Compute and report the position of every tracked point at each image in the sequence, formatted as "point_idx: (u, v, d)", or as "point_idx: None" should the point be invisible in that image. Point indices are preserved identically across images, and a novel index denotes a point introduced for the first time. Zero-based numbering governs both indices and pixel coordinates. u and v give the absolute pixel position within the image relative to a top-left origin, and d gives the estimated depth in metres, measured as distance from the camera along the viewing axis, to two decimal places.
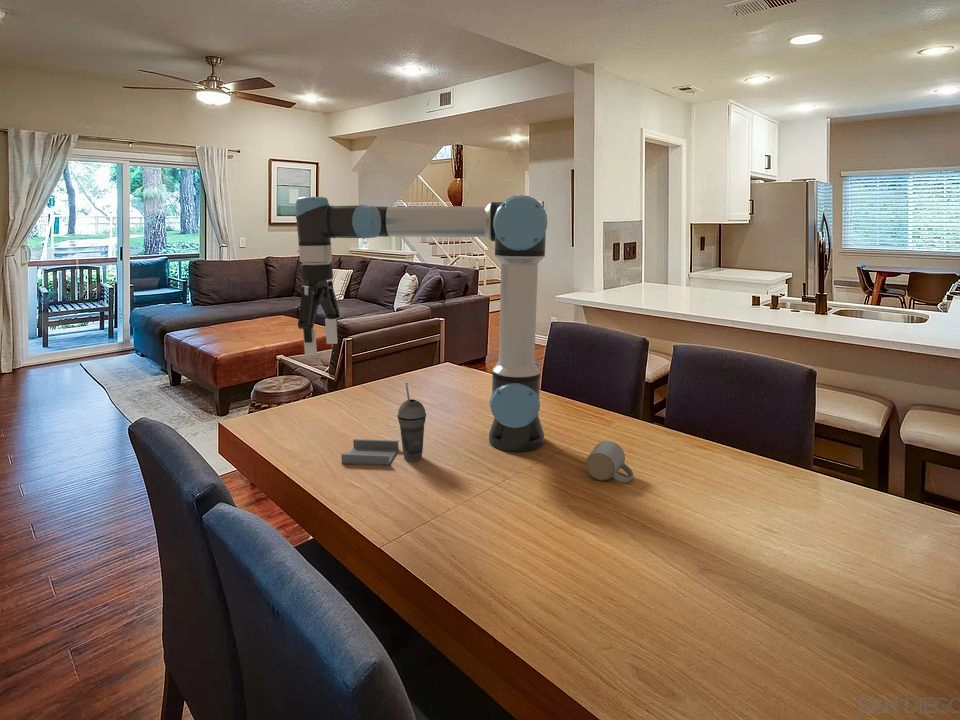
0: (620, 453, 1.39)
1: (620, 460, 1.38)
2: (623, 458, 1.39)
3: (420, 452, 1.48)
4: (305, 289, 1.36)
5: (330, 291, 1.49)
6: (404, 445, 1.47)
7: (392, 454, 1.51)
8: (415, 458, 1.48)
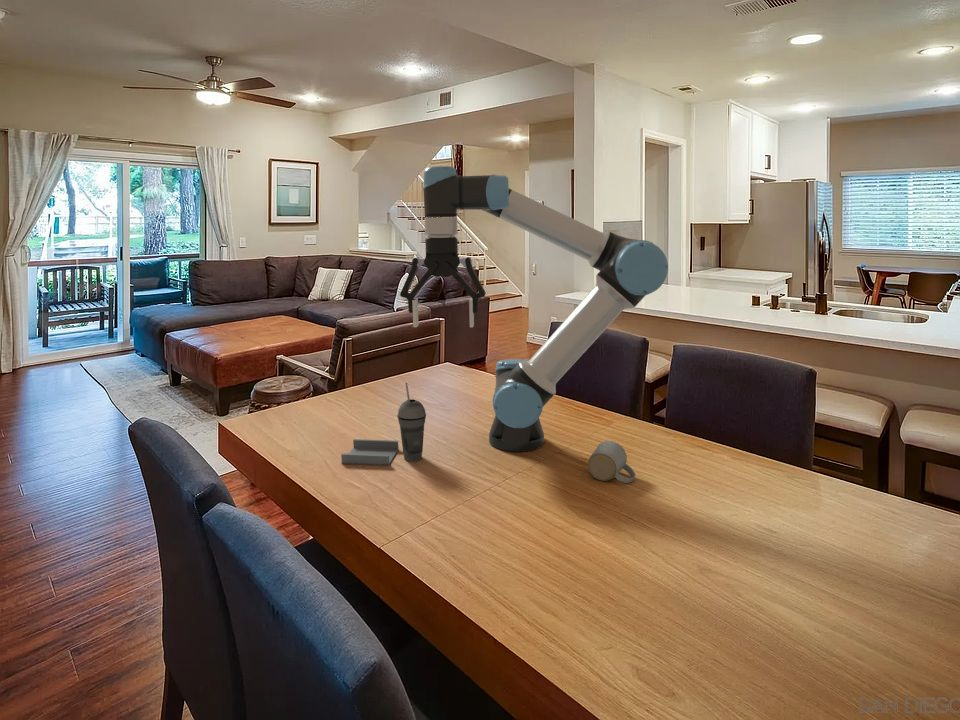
0: (622, 453, 1.39)
1: (622, 460, 1.38)
2: (625, 458, 1.39)
3: (420, 452, 1.48)
4: None
5: None
6: (404, 445, 1.47)
7: (392, 454, 1.51)
8: (415, 458, 1.48)
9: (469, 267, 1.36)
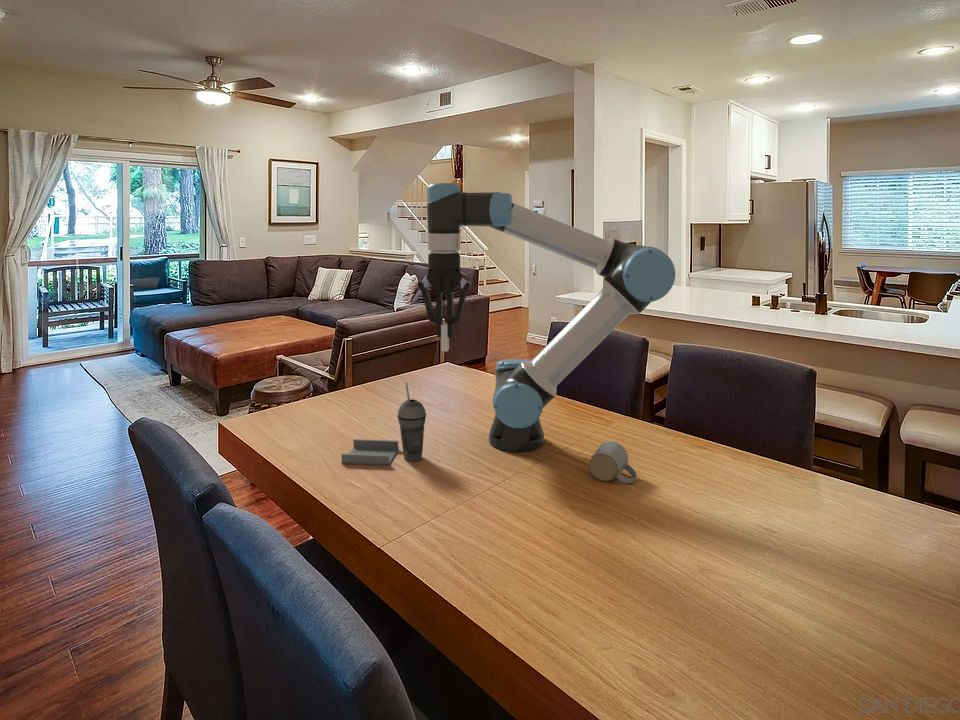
0: (624, 453, 1.38)
1: (623, 461, 1.37)
2: (626, 459, 1.39)
3: (420, 452, 1.48)
4: None
5: (461, 291, 1.38)
6: (404, 445, 1.47)
7: (392, 454, 1.51)
8: (415, 458, 1.48)
9: (464, 291, 1.37)
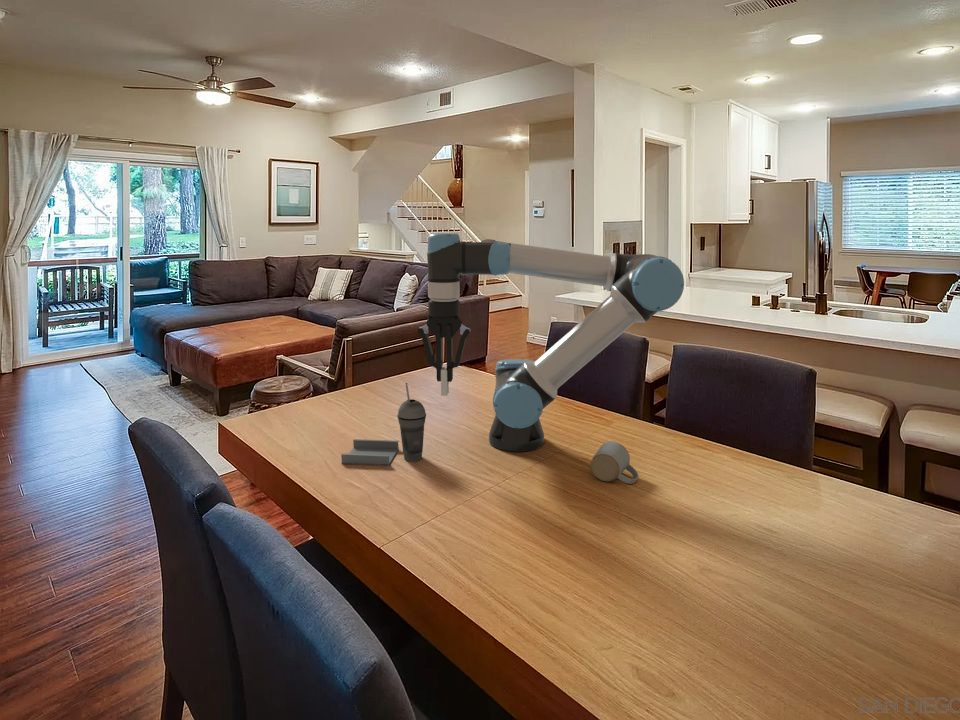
0: (625, 454, 1.38)
1: (625, 461, 1.37)
2: (628, 459, 1.39)
3: (420, 452, 1.48)
4: None
5: None
6: (404, 445, 1.47)
7: (392, 454, 1.51)
8: (415, 458, 1.48)
9: (463, 337, 1.40)
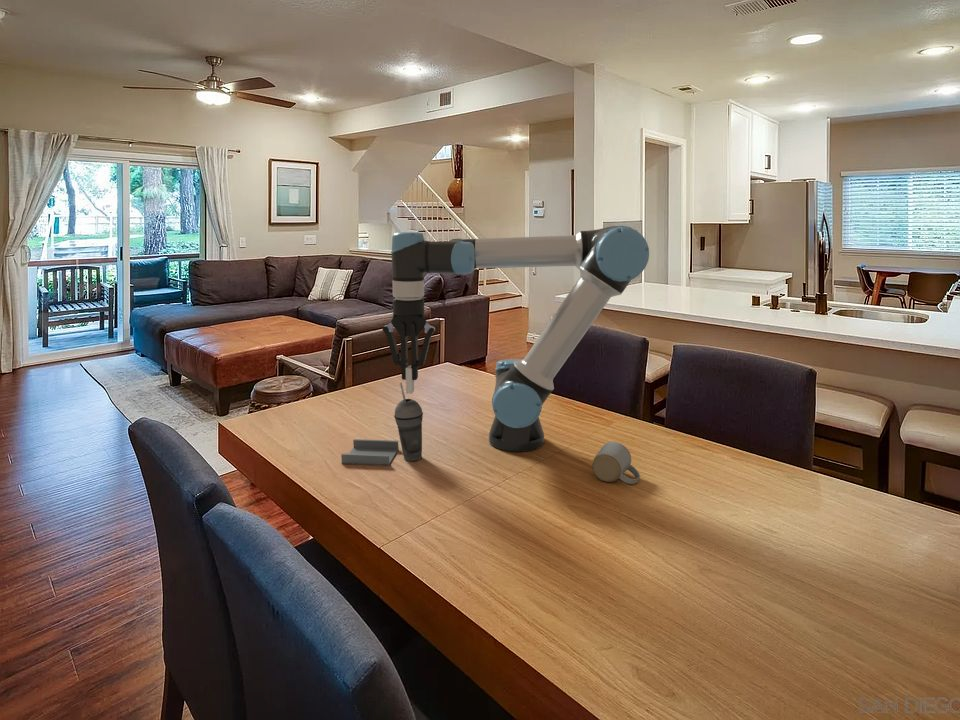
0: (627, 454, 1.38)
1: (626, 461, 1.37)
2: (629, 459, 1.39)
3: (419, 451, 1.48)
4: None
5: (425, 335, 1.41)
6: (403, 445, 1.47)
7: (392, 454, 1.51)
8: (415, 457, 1.48)
9: (428, 336, 1.41)
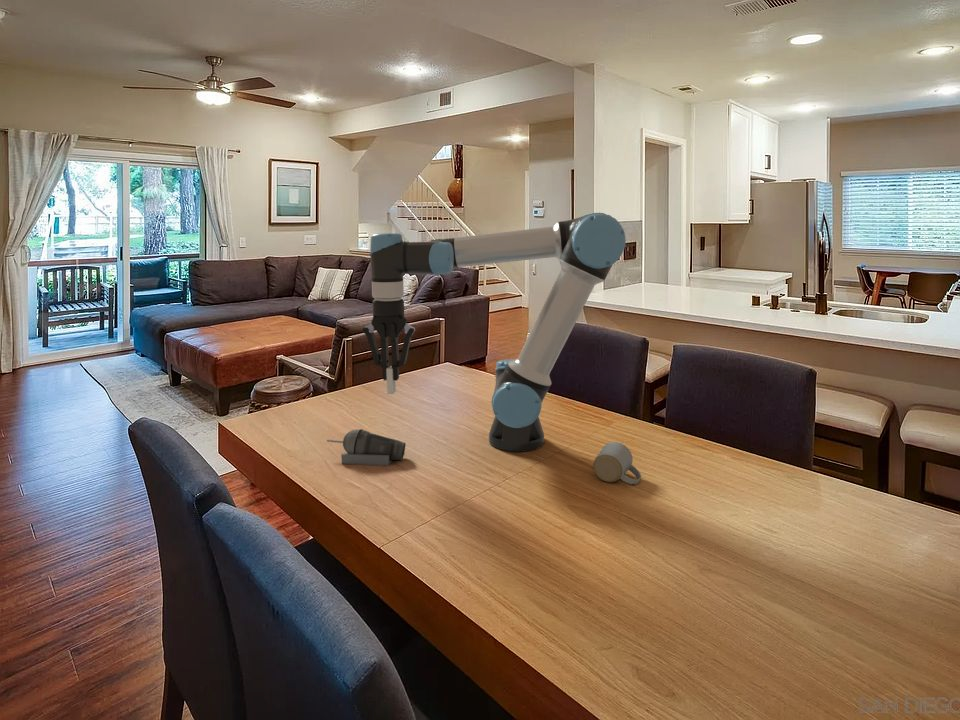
0: (628, 454, 1.38)
1: (628, 462, 1.37)
2: (631, 460, 1.39)
3: (394, 445, 1.47)
4: None
5: None
6: None
7: None
8: (398, 452, 1.46)
9: (408, 336, 1.41)
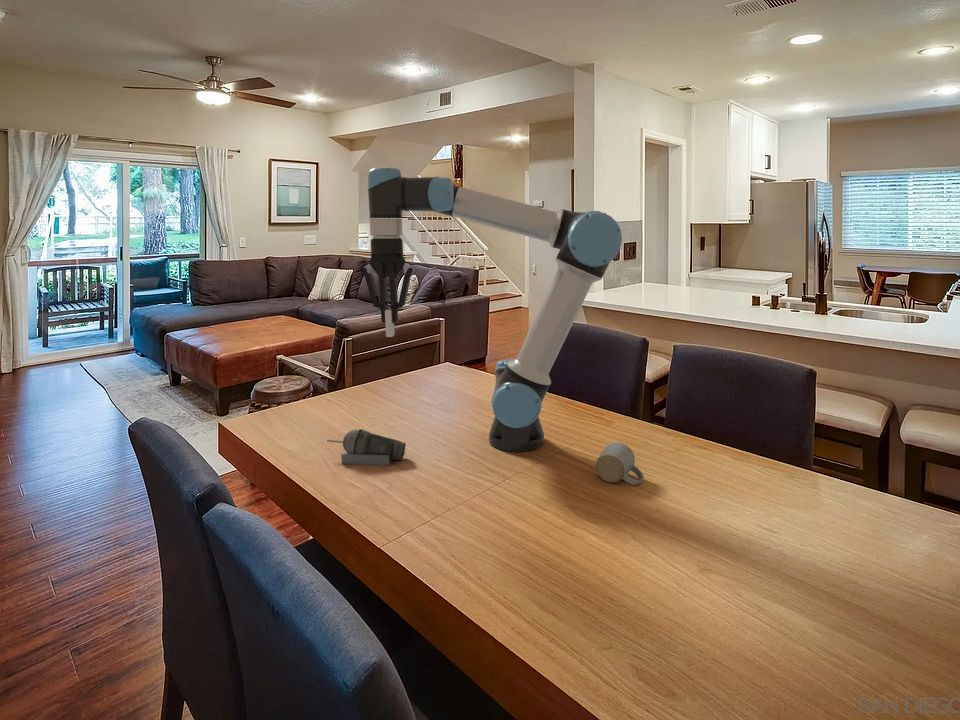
0: (630, 455, 1.38)
1: (630, 462, 1.37)
2: (633, 460, 1.38)
3: (394, 445, 1.47)
4: None
5: None
6: None
7: None
8: (398, 452, 1.46)
9: (407, 276, 1.38)
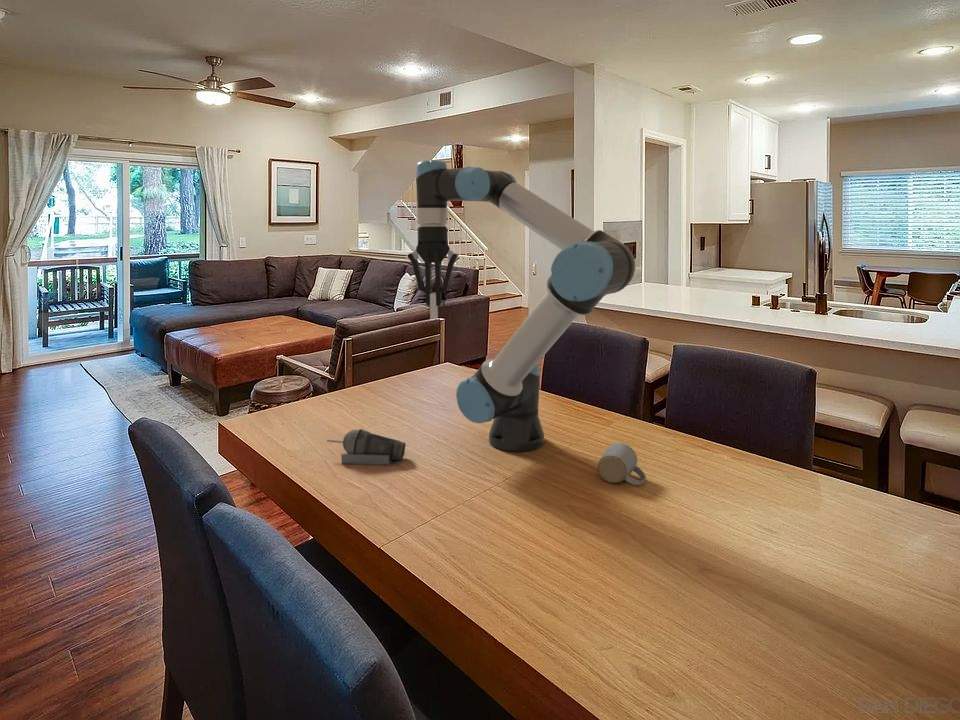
0: (633, 455, 1.37)
1: (632, 463, 1.36)
2: (635, 461, 1.38)
3: (394, 445, 1.47)
4: None
5: (448, 262, 1.49)
6: None
7: None
8: (398, 452, 1.46)
9: (451, 262, 1.48)
